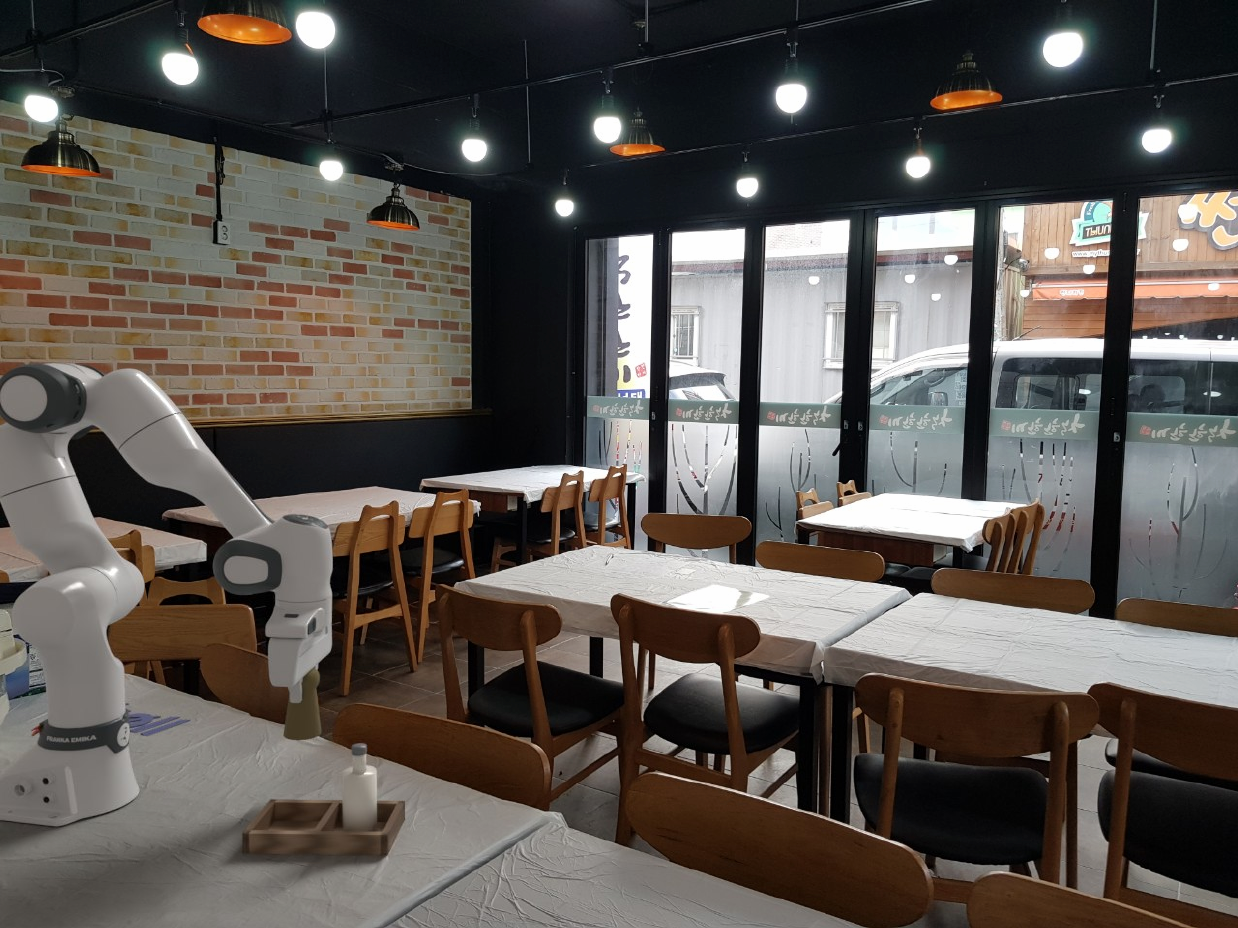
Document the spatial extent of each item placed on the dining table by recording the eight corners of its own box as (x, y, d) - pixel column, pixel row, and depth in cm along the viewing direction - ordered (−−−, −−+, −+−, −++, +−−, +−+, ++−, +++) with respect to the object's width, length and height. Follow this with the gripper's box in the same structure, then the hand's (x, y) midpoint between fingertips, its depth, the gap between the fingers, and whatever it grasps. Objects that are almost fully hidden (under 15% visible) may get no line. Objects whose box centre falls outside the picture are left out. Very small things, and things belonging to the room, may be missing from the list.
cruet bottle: (338, 843, 137) (337, 752, 135) (348, 827, 142) (347, 739, 140) (372, 844, 137) (371, 752, 135) (381, 828, 142) (380, 739, 140)
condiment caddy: (242, 859, 134) (242, 833, 133) (271, 823, 145) (270, 799, 144) (387, 861, 134) (387, 834, 133) (405, 825, 145) (404, 800, 144)
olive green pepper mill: (310, 741, 150) (311, 675, 149) (276, 738, 151) (276, 672, 150) (328, 728, 156) (329, 664, 155) (294, 724, 156) (295, 661, 156)
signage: (56, 709, 192) (102, 695, 201) (56, 713, 192) (102, 698, 201) (145, 735, 179) (190, 718, 188) (145, 738, 179) (190, 722, 188)
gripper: (305, 598, 162) (304, 675, 163) (260, 629, 141) (260, 716, 142) (341, 599, 162) (340, 676, 163) (302, 630, 141) (300, 718, 142)
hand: (302, 695), depth 152 cm, fingers closed on olive green pepper mill, 4 cm apart
